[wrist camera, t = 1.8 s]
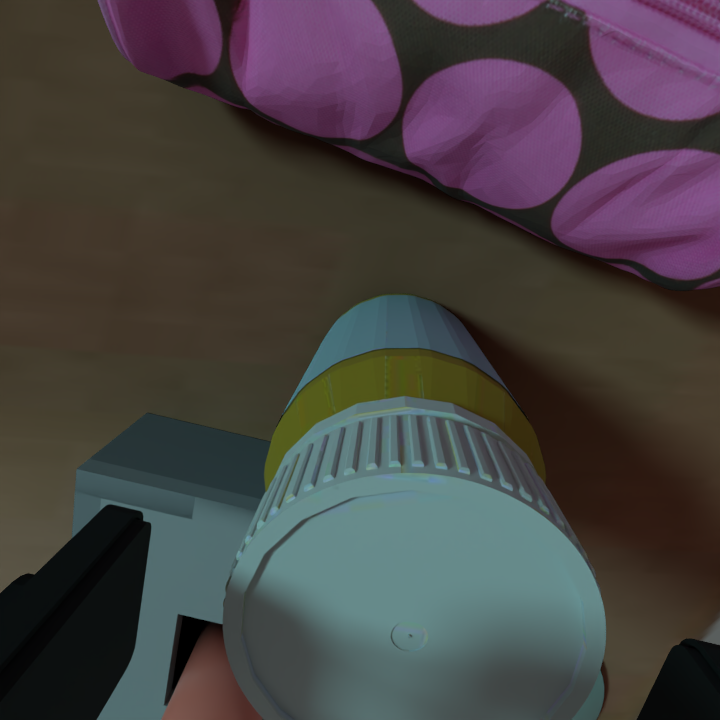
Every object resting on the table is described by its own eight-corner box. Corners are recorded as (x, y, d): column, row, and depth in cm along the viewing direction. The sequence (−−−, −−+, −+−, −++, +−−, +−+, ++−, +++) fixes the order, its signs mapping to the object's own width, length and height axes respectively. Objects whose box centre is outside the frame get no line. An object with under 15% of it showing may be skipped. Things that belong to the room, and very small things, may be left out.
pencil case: (767, 33, 18) (1195, -176, 8) (640, 284, 21) (854, 341, 11) (210, -181, 17) (-15, -678, 8) (152, 108, 20) (-67, 8, 10)
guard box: (146, 412, 24) (76, 468, 18) (432, 479, 24) (444, 554, 18) (118, 667, 28) (55, 771, 23) (358, 722, 28) (350, 839, 23)
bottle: (507, 350, 22) (739, 611, 7) (413, 466, 24) (450, 856, 9) (378, 258, 21) (352, 346, 7) (290, 385, 23) (120, 671, 8)
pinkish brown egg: (205, 603, 22) (138, 744, 16) (286, 622, 22) (248, 770, 16) (194, 666, 23) (127, 820, 17) (271, 684, 23) (231, 844, 17)
